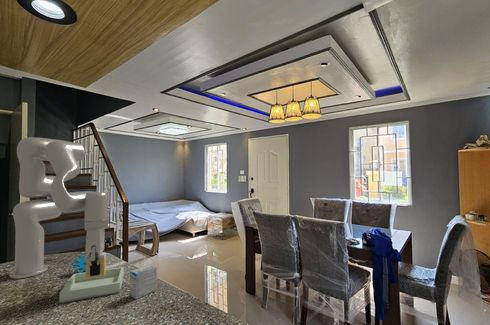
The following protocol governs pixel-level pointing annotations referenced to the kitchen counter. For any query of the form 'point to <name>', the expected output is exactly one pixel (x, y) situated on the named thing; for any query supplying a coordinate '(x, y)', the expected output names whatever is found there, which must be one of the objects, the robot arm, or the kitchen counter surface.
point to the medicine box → (143, 281)
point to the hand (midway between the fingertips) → (96, 272)
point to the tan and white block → (102, 266)
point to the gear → (80, 264)
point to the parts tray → (92, 285)
